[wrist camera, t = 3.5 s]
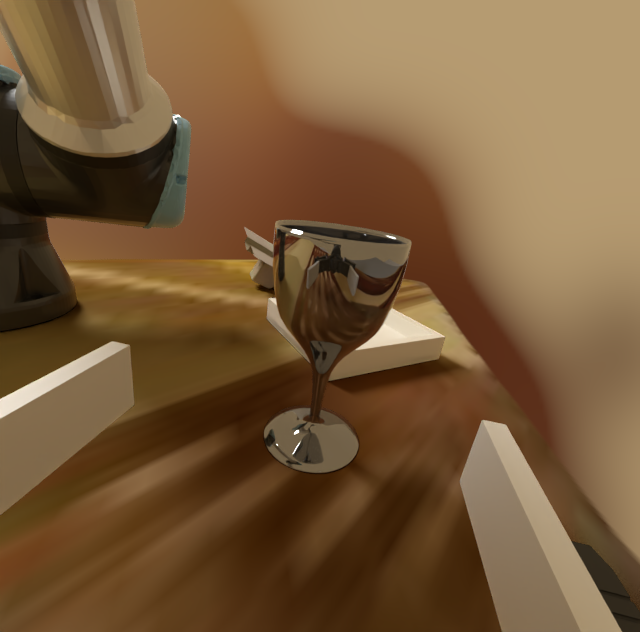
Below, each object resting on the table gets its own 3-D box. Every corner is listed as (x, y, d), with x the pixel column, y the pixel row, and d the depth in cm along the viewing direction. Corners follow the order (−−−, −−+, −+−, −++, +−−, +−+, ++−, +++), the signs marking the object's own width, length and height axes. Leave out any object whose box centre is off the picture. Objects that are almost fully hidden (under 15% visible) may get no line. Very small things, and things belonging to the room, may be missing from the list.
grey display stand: (275, 291, 70) (222, 242, 62) (306, 264, 69) (256, 210, 60) (293, 334, 57) (229, 280, 48) (331, 302, 56) (273, 240, 47)
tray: (266, 319, 44) (268, 298, 43) (360, 311, 52) (364, 293, 51) (327, 381, 32) (331, 353, 31) (438, 358, 40) (445, 336, 39)
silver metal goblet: (263, 486, 20) (288, 234, 15) (253, 405, 27) (267, 215, 22) (382, 471, 22) (440, 249, 17) (344, 400, 29) (376, 228, 24)
